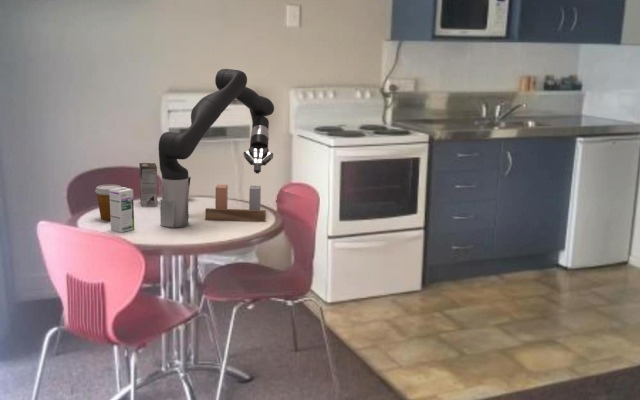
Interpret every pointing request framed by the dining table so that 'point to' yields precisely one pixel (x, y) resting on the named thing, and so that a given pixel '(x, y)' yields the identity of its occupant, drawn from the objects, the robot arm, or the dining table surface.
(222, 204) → the terracotta plug
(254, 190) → the slate plug
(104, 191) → the disposable coffee cup
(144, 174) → the coffee box
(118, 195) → the syrup box
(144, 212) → the dining table surface
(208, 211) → the brown wooden flat block
